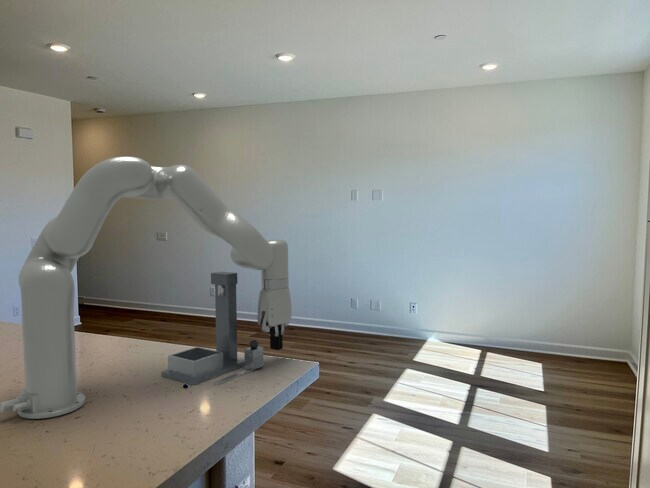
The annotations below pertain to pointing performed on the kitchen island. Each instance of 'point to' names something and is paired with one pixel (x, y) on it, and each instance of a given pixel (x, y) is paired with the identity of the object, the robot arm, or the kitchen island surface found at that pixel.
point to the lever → (253, 355)
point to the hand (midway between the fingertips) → (276, 348)
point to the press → (211, 363)
